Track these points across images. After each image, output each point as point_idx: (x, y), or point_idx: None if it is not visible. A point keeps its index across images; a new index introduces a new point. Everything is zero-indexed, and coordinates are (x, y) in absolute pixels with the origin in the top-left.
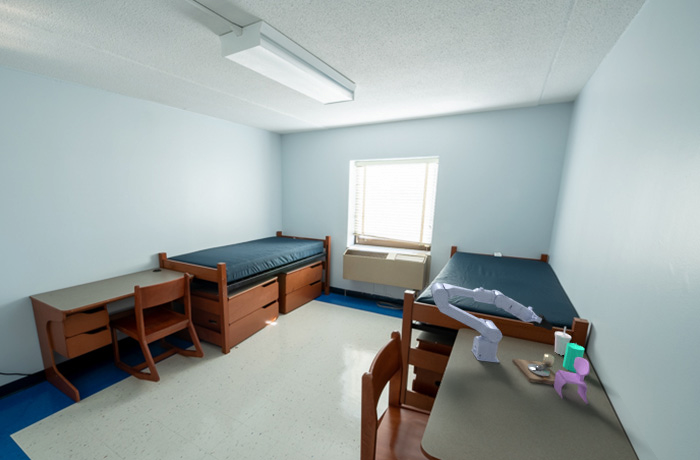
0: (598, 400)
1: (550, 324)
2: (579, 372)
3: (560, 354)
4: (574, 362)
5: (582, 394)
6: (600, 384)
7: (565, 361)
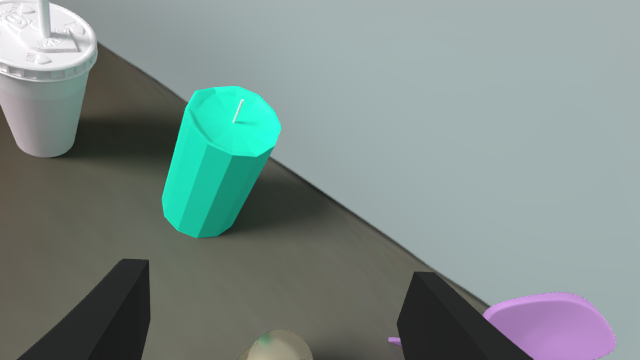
0: None
1: (464, 308)
2: None
3: (68, 147)
4: None
5: None
6: (307, 184)
7: (205, 218)
